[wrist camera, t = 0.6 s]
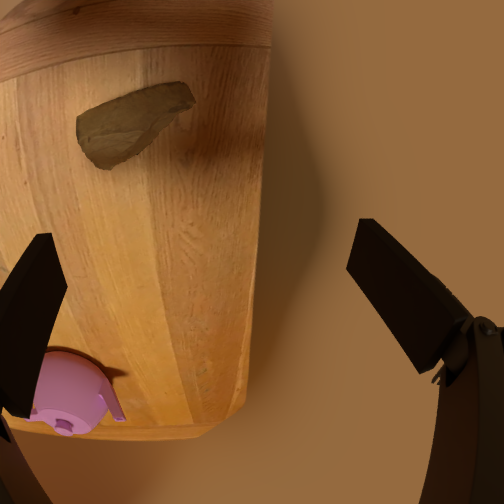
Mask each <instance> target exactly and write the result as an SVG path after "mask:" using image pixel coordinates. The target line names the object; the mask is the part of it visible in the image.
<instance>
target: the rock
mask: <svg viewBox="0 0 504 504" xmlns="http://www.w3.org/2000/svg"><path fill="white" fill-rule="evenodd" d="M195 104H196V101H195V99H194V97H193V95H192V93H191V91H190V89H189V87H188V86H187V84H185V83H183V82H182V83H181V82H173V83H168V84H165V83H164V84H159V85H156V86H153V87H149V88H144V89H141V90H137V91H134V92H131V93H129V94H127V95H125V96H123V97H119V98H117V99H114V100H112V101H109V102H106V103H103V104H101V105H99V106H96V107H94V108H92V109H89V110H87V111H85V112H84V113H82V114H81V115H79V116H77V120H76V136H77V140H78V144H79V145H80V146H81V148H82V151H83V152H84V153H85V155H86V157H87V158H88V159H90V160H91V162H93V163H94V165H95V167H97V168H99V169H103V170H111V169H112V168H113V167H114V166H115V165H117V164H119V163H121V162H125V161H126V160H127V159H129V158H131V157H133V156H134V155H138V154H139V153H140V152H141V151H142V150H143V149H145V148H146V147H147V146H148V145H149V144H151V143H152V141H153V140H154V139H155V138H156V137H157V136H158V134H159V132H160V131H162V129H163V128H165V127H167V126H168V125H169V123H170V122H171V121H172V120H173V118H174V117H175V116H176V115H177V114H179V113H181V112H183V111H185V110H189V109H190V108H192V107H193V105H195Z"/></svg>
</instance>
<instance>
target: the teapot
mask: <svg viewBox="0 0 504 504" xmlns="http://www.w3.org/2000/svg"><path fill="white" fill-rule="evenodd" d="M33 403H34V405H35V409H33V405H32V410H31V415H30V419H25V418H24V419H25V420H26V421H27V422H28V421H41V420H43V421H44V422H46V423H47V424H48V425H50V426H52V427H54V430H55V431H56V432H57V433H59V434H61V435H65V436H72V435H73V433H74V434H84V433H88V432H90V431H91V430H92V429H93V428H94V427H95V426H96V425H97V424H98V423H99V422H100V421H101V420H102V418H103V417H104V416H105V414H106V413H107V411H108V409H109V410H110V412H111V414H112V416H113V419H114V420H115V421H126V418H125V416H124V413H123V411H122V408H121V406H120V403H119V401H118V398H117V396H116V393H115V391H114V388H113V387H112V385H111V384H110V382H109V380H108V379H107V377H106V376H105V375H104V373H103V372H102V371H101V370H100V369H99V368H98V367H97V366H96V365H95V364H94V363H92V362H91V361H89V360H87V359H85V358H83V357H81V356H79V355H76V354H73V353H69V352H63V351H53V352H48V353H45V355H44V359H43V363H42V366H41V370H40V374H39V378H38V382H37V386H36V391H35V395H34V400H33Z"/></svg>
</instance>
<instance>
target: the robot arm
mask: <svg viewBox="0 0 504 504" xmlns="http://www.w3.org/2000/svg"><path fill="white" fill-rule="evenodd" d="M346 270H347V271H348V272H349V274H350V275H351V276H352V278H353V279H354V280H355V282H356V283H357V284H358V286H359V287H360V289H361V290H362V291H363V293H364V294H365V295H366V297H367V298H368V300H369V301H370V302H371V304H372V305H373V307H374V308H375V309H376V311H377V312H378V314H379V315H380V316H381V318H382V319H383V321H384V322H385V324H386V325H387V327H388V328H389V329H390V331H391V332H392V334H393V335H394V337H395V338H396V339H397V341H398V342H399V344H400V346H401V347H402V349H403V350H404V352H405V353H406V355H407V356H408V357H409V359H410V361H411V362H412V363H413V365H414V367H415V368H416V370H417V371H418V373H419V374H421V373H424V372H426V371H429V370H431V369H433V368H434V367H435V366H436V364H437V363H438V361H439V360H440V359H441V358H442V360H443V361H444V365H443V366H442V367H441V368H440V370H439V371H438V372H437V374H436V375H435V376H434V377H433V379H432V383H434V382H435V381H436V380H437V378H438V377H440V380H439V382H438V383H437V385H440V387H439V399H438V409H437V417H436V425H435V431H434V438H433V444H432V449H431V455H430V460H429V465H428V469H427V474H426V478H425V482H424V486H423V490H422V494H421V498H420V501H419V504H504V327H497V326H496V325H495V324H494V323H493V322H492V321H491V320H489V319H487V318H486V317H482V316H479V317H476V318H474V317H473V316H472V315H471V314H470V313H469V311H468V310H467V309H466V308H465V307H464V306H463V305H462V303H461V302H460V301H459V300H458V299H457V298H456V297H455V296H454V295H452V292H451V291H450V290H449V289H448V288H446V286H445V285H444V284H443V283H442V282H441V281H440V280H439V279H438V278H437V277H435V276H434V275H432V274H431V273H430V272H429V271H428V270H427V269H426V268H425V267H424V266H423V265H422V264H421V263H420V262H418V260H417V259H416V258H414V256H412V254H410V253H409V252H408V251H407V250H406V249H405V248H404V247H403V246H402V245H401V244H400V243H399V242H398V241H397V240H396V239H395V238H394V237H393V236H392V235H391V234H389V233H388V232H387V231H386V230H385V229H384V228H383V227H382V226H381V225H380V224H378V223H377V222H376V221H375V220H374V219H359V223H358V227H357V231H356V234H355V239H354V242H353V246H352V249H351V253H350V257H349V260H348V264H347V267H346ZM67 287H68V286H67V283H66V280H65V277H64V274H63V271H62V268H61V265H60V261H59V258H58V255H57V251H56V248H55V244H54V240H53V237H52V233H43V234H36V236H35V237H34V238H33V240H32V241H31V243H30V244H29V246H28V247H27V248H26V250H25V251H24V253H23V254H22V256H21V257H20V259H19V261H18V262H17V264H16V265H15V267H14V268H13V270H12V272H11V273H10V275H9V277H8V278H7V280H6V282H5V283H4V285H3V287H2V288H1V290H0V504H53V503H52V502H51V500H50V499H49V497H48V496H47V494H46V493H45V491H44V490H43V488H42V487H41V485H40V483H39V482H38V480H37V479H36V477H35V475H34V474H33V472H32V470H31V469H30V467H29V465H28V463H27V462H26V460H25V458H24V456H23V454H22V453H21V451H20V449H19V447H18V445H17V443H16V441H15V439H14V437H13V435H12V433H11V430H10V428H9V426H8V424H7V422H6V420H5V418H4V417H3V416H2V415H1V413H2V409H3V407H4V408H5V409H6V410H7V411H8V412H9V413H10V414H11V415H12V416H15V417H20V418H25V419H30V415H31V410H32V405H33V400H34V395H35V391H36V386H37V382H38V378H39V374H40V370H41V366H42V363H43V359H44V355H45V352H46V349H47V345H48V342H49V339H50V335H51V332H52V329H53V326H54V323H55V320H56V317H57V314H58V312H59V309H60V306H61V303H62V301H63V298H64V295H65V293H66V290H67Z"/></svg>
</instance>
